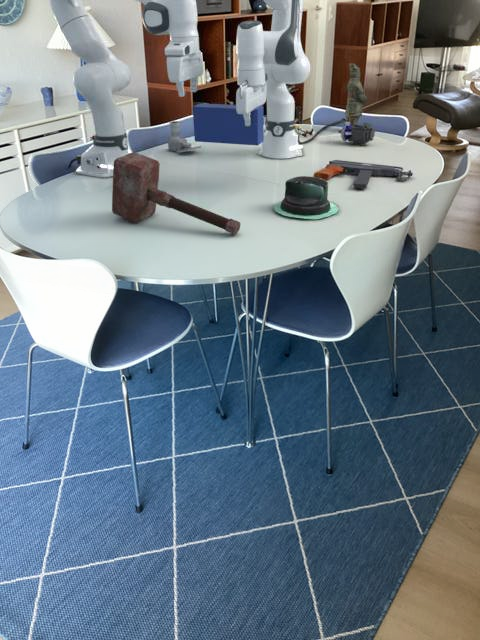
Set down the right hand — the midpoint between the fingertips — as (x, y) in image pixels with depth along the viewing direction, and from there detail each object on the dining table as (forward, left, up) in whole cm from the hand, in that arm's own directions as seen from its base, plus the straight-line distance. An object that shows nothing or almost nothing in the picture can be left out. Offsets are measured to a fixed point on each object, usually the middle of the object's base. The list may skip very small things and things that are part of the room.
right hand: (251, 123), depth 185 cm
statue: (-95, +30, -21) cm, 102 cm away
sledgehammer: (+42, -14, -21) cm, 49 cm away
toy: (-68, +32, -21) cm, 79 cm away
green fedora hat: (+21, +21, -21) cm, 37 cm away
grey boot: (-43, -40, -21) cm, 63 cm away
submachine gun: (-13, +37, -21) cm, 45 cm away
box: (-1, -8, -7) cm, 11 cm away
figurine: (-86, -1, -21) cm, 88 cm away
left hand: (+4, -20, +9) cm, 23 cm away
